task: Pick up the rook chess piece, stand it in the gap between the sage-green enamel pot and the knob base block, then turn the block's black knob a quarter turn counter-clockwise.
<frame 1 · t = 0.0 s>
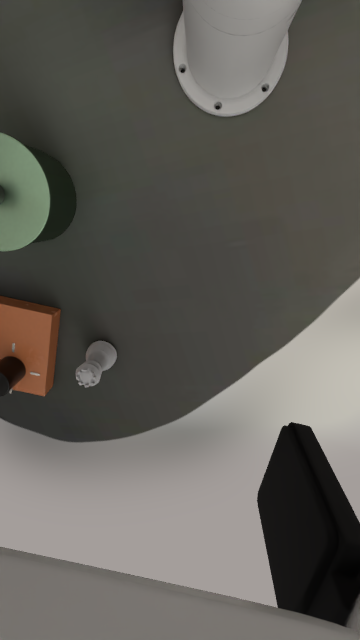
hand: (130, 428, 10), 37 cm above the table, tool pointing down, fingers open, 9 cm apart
stove knob: (3, 376, 46), point 5 cm above the table, hinge at 0.0°
knob base block: (24, 342, 50), on the table
rook chess piece: (103, 352, 50), on the table
pot: (34, 197, 44), on the table
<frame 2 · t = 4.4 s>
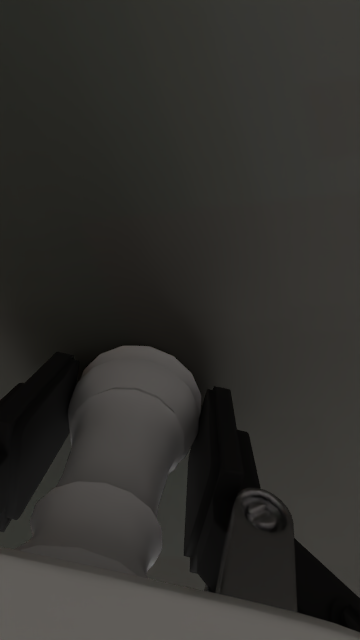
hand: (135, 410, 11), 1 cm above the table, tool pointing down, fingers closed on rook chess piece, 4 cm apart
rook chess piece: (141, 393, 12), on the table, touching gripper
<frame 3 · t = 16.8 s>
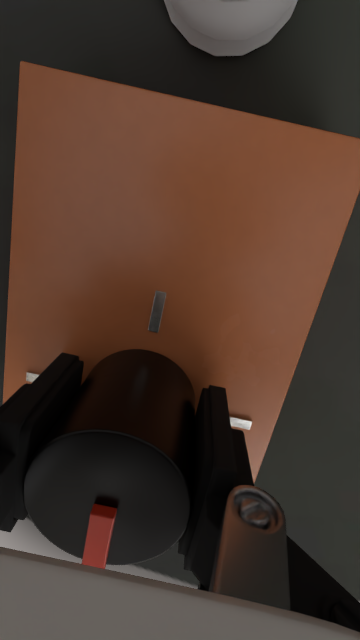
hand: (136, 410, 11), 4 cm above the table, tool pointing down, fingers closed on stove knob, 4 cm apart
stove knob: (125, 443, 10), point 5 cm above the table, hinge at -0.1°, touching gripper
knob base block: (164, 299, 14), on the table
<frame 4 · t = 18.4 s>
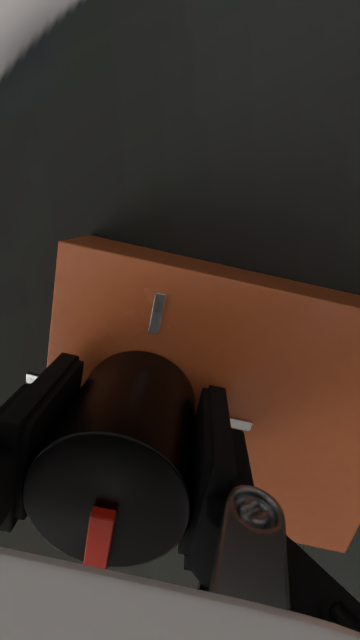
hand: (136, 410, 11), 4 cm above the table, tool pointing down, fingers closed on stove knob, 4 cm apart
stove knob: (125, 445, 10), point 5 cm above the table, hinge at 91.1°, touching gripper
knob base block: (217, 379, 15), on the table
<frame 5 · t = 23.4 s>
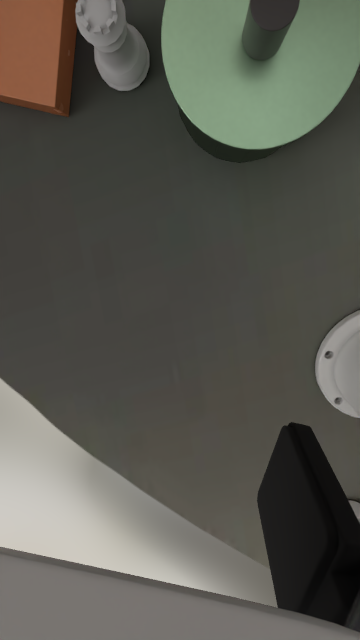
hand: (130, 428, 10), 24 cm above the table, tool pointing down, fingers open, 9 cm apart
rook chess piece: (124, 63, 28), on the table
pot: (243, 89, 28), on the table
pot lid: (261, 40, 20), point 8 cm above the table, touching pot
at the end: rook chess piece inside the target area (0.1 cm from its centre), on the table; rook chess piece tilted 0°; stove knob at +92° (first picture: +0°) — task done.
